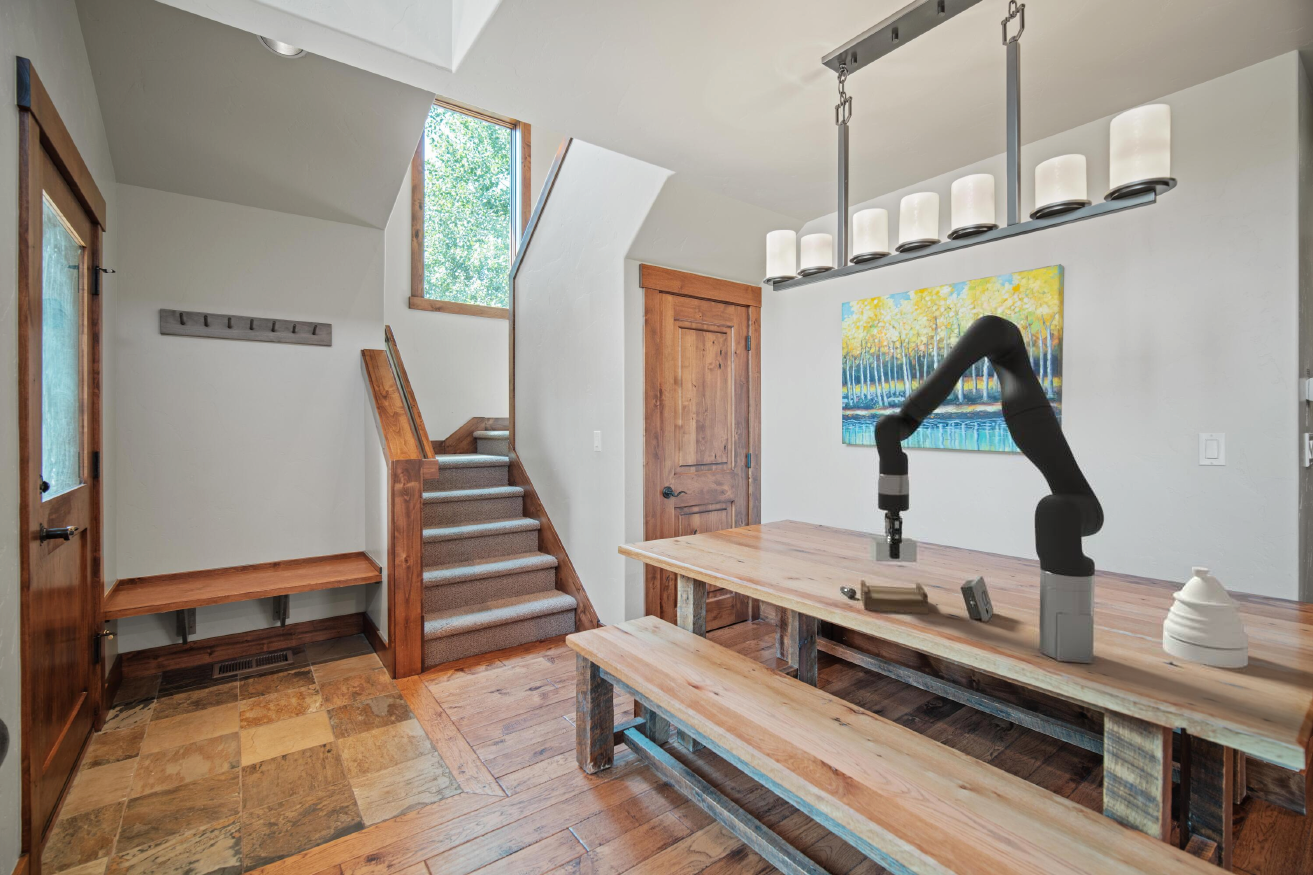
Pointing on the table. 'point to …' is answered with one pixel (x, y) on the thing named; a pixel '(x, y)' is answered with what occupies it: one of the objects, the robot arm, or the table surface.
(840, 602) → the table surface
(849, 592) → the bolt
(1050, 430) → the robot arm
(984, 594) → the electrical switch
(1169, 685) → the table surface
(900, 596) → the brown wooden tray
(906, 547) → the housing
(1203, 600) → the honey pot
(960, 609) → the table surface
